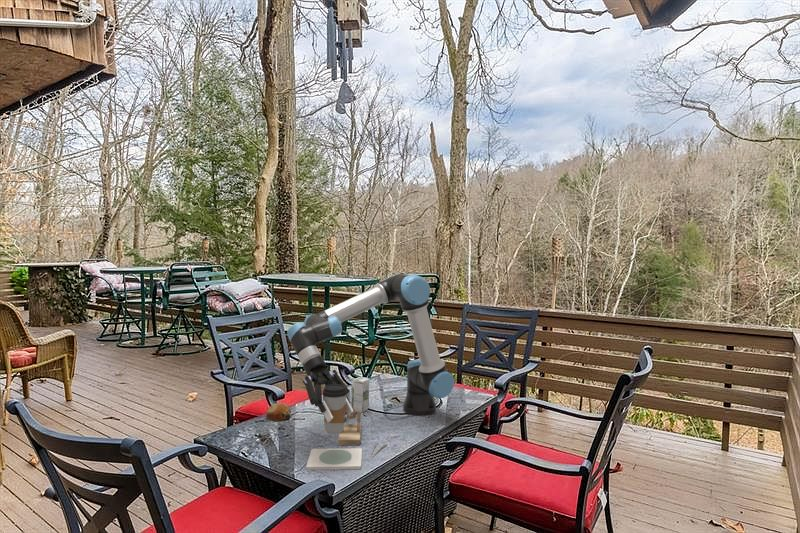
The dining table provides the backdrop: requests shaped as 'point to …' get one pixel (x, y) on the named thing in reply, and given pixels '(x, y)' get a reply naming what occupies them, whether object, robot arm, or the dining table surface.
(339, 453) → the board
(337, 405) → the coffee cup
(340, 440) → the toy catapult
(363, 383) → the syrup box
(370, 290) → the robot arm
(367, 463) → the dining table surface
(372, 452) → the tweezers
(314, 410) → the dining table surface
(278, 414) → the brown rounded lump
